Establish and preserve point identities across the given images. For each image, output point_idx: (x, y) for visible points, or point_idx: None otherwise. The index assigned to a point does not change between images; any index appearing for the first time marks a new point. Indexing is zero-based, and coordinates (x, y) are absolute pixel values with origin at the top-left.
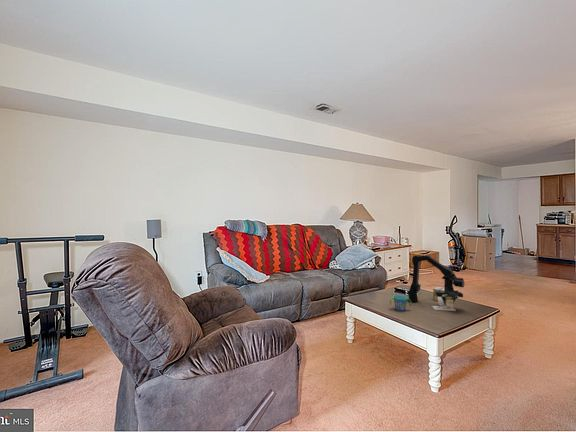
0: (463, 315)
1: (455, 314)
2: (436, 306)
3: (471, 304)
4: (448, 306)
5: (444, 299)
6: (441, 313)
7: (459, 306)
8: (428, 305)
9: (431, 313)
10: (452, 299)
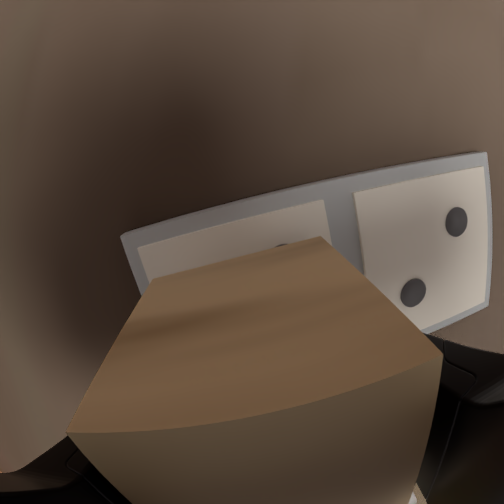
0: (45, 41)
1: (160, 16)
2: (446, 305)
3: None
4: (272, 254)
5: (468, 371)
6: (395, 3)
7: None
8: (493, 336)
9: (492, 6)
10: (109, 453)
